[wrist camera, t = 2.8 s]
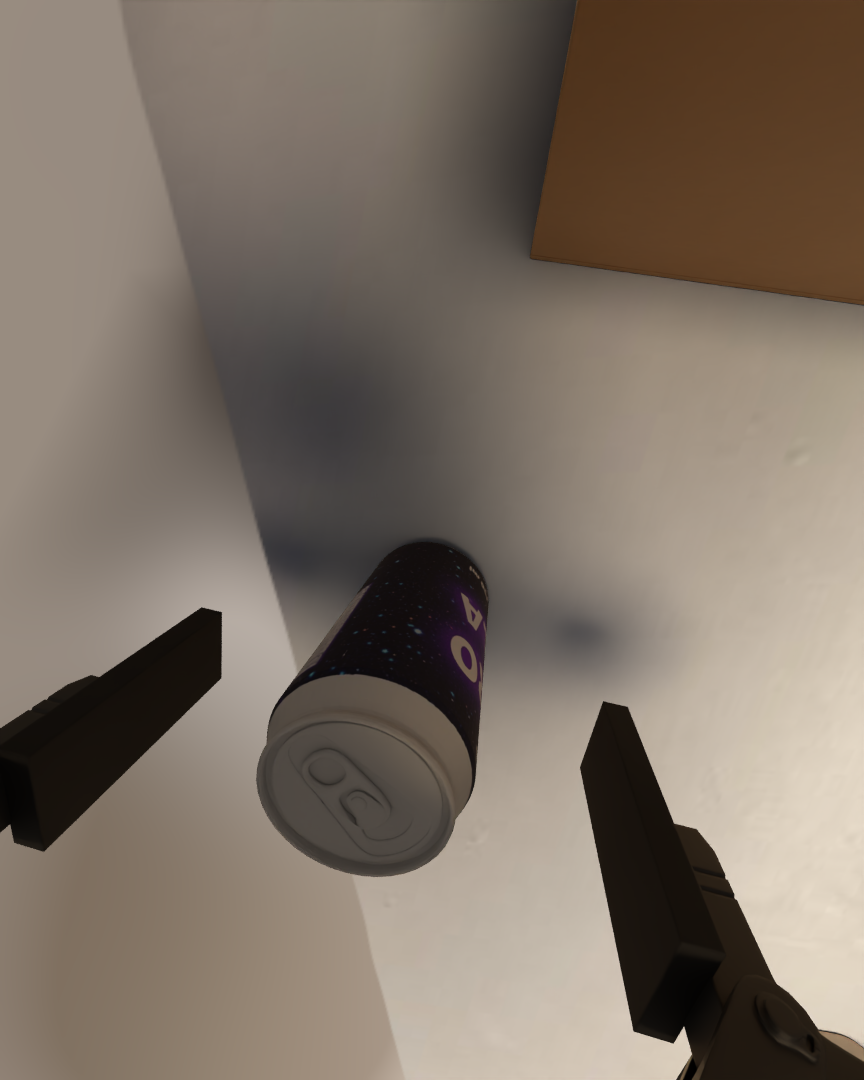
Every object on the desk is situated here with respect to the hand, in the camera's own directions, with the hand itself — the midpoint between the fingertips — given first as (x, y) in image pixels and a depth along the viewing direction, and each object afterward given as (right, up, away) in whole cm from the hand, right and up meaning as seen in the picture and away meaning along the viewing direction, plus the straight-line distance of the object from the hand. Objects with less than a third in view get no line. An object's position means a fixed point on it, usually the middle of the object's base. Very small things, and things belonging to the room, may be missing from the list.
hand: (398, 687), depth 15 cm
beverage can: (+1, +3, +7) cm, 8 cm away
